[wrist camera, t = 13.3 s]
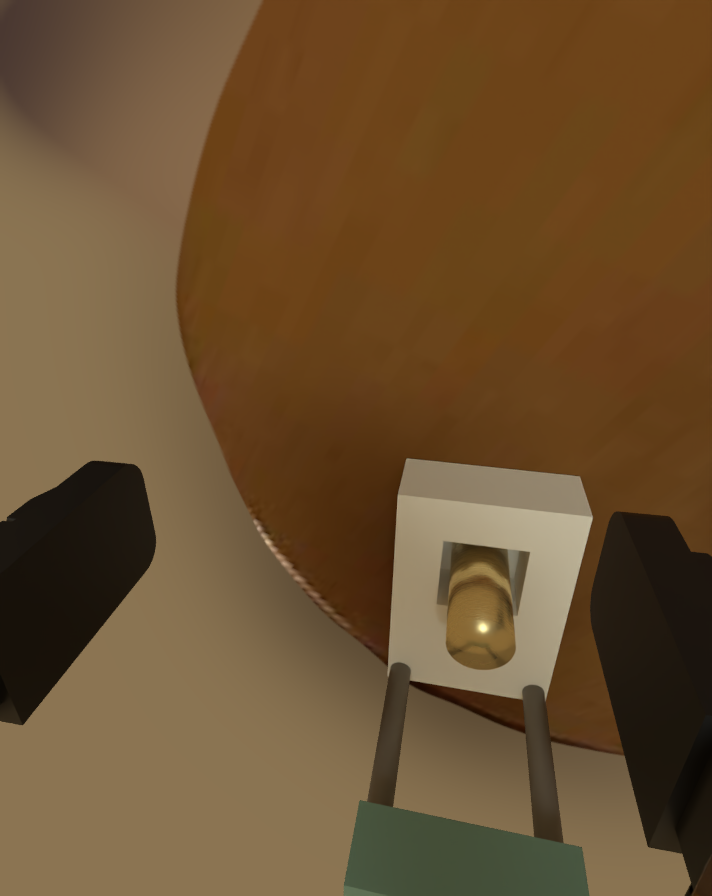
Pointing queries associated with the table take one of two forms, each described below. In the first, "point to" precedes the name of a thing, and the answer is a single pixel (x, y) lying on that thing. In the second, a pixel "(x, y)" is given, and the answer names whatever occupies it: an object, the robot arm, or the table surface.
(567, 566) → the socket stand
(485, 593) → the brass peg
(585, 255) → the table surface
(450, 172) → the table surface
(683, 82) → the table surface
